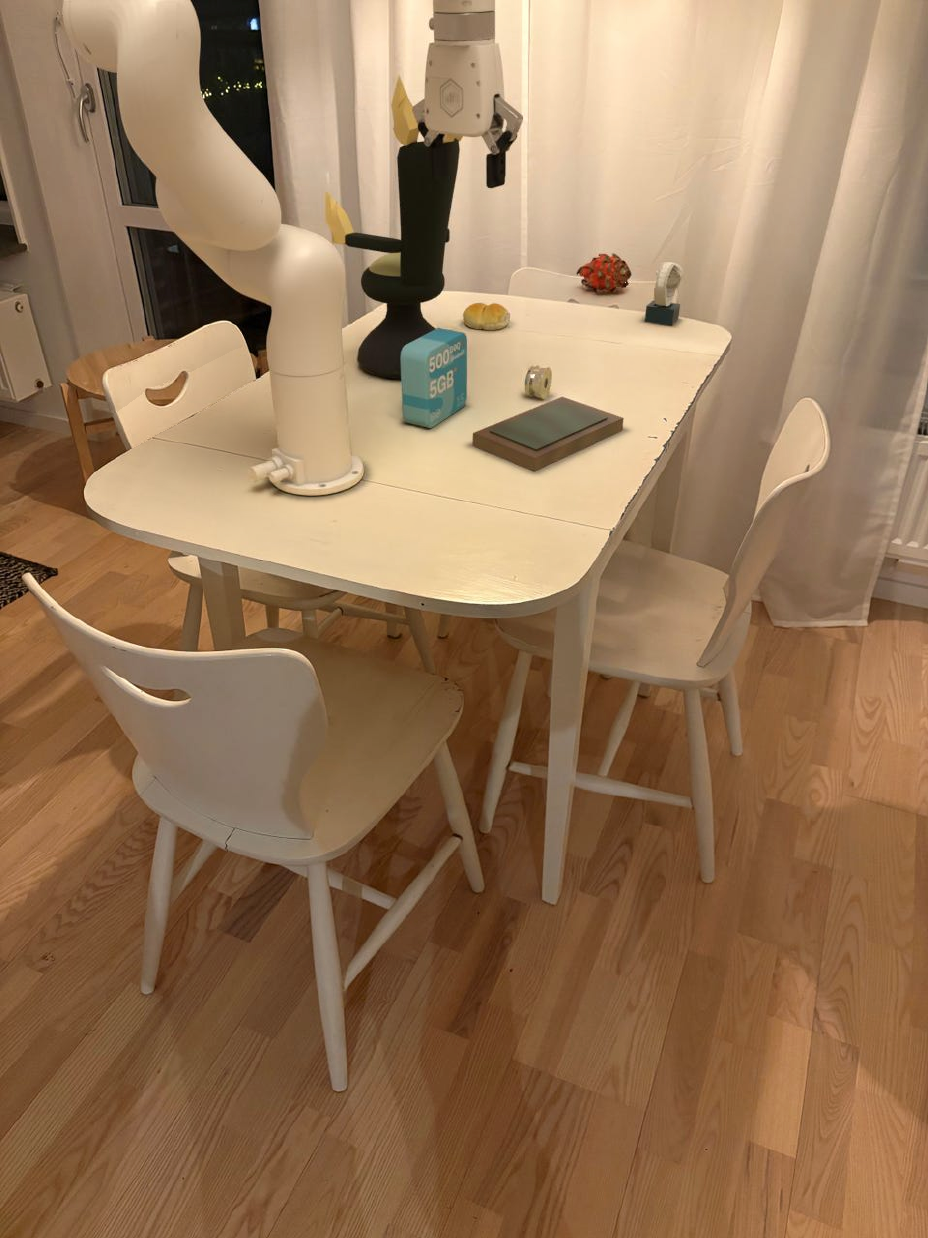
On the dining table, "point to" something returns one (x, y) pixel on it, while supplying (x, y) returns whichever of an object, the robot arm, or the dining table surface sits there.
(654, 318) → the watch
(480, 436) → the desk pad
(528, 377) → the metal grooved wheel
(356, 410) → the dining table surface
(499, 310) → the bread roll
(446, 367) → the data package
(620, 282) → the dragon fruit
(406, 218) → the candelabra
